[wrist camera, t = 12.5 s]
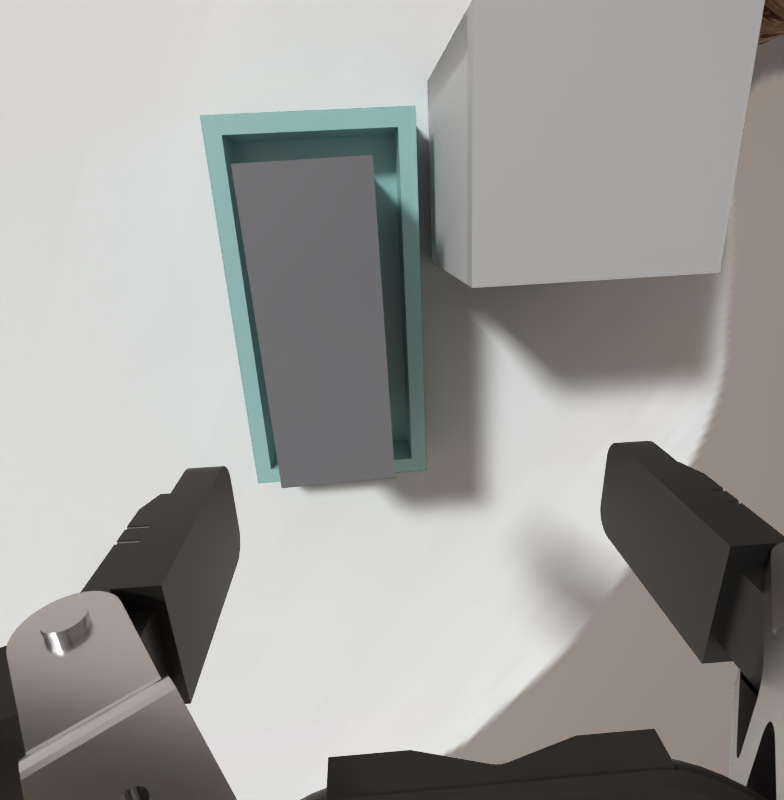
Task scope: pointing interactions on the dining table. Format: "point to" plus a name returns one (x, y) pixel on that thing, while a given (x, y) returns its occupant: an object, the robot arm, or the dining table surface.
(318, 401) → the tall grey pillar
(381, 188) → the tray
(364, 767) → the robot arm
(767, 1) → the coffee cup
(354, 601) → the dining table surface
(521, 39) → the light grey block
